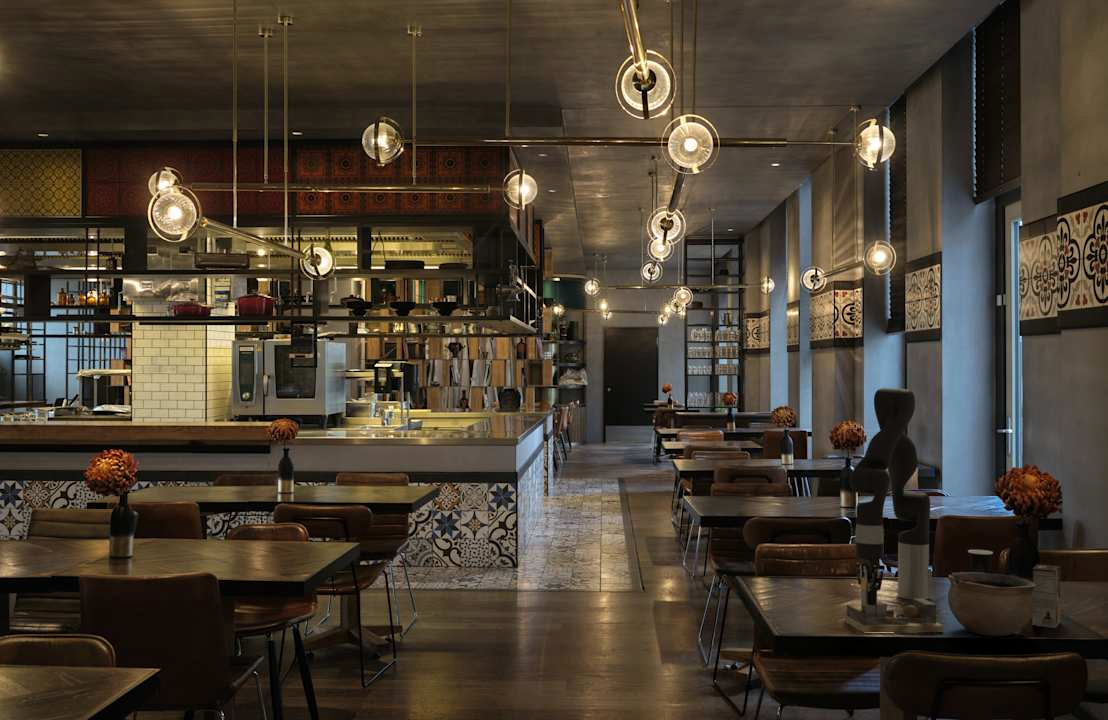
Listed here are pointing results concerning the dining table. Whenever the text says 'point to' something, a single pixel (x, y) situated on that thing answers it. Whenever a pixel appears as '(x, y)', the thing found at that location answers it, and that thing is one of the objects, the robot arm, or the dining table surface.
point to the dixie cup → (980, 560)
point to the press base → (897, 620)
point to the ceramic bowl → (990, 602)
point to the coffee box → (1046, 595)
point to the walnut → (910, 611)
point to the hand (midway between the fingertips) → (869, 603)
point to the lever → (871, 610)
